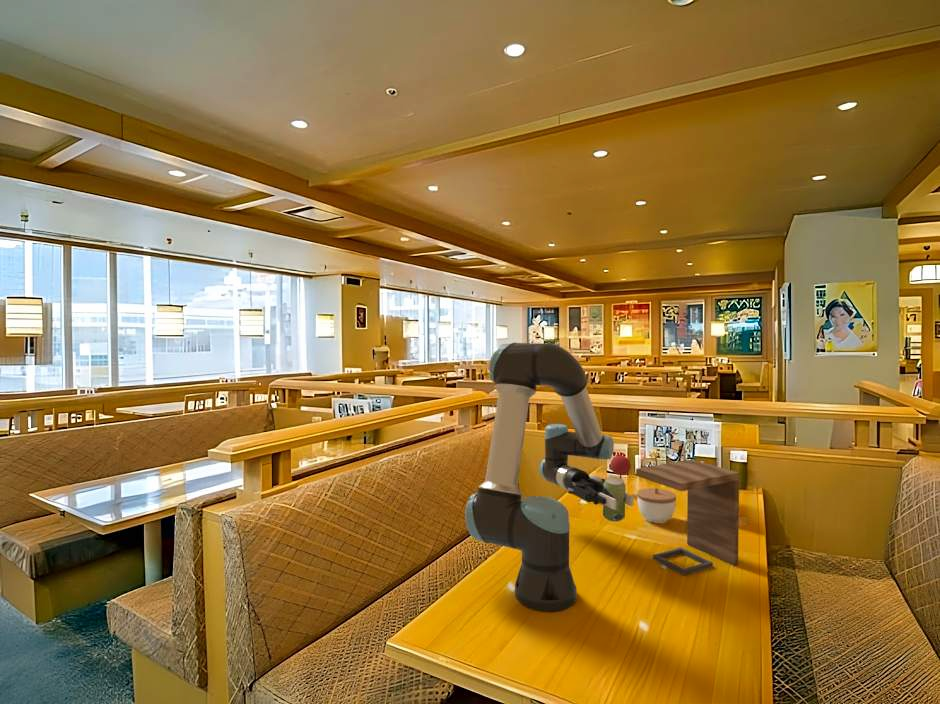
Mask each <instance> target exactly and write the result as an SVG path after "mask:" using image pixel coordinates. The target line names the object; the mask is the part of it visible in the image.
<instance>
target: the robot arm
mask: <svg viewBox="0 0 940 704" xmlns="http://www.w3.org/2000/svg"><path fill="white" fill-rule="evenodd" d="M488 365H489V366H488V371H489V374H488V375H489V379H490V381H492V382H493V383H494V386H493V387H494V389H495V390H496V392H497V393H498V396H497V403H496V409H495V415H494V420H493V427H492V428H493V429H492V436H491V441H490V447H489V453H488V461H487V466H486V472H485V473H486V474H485V479H484V481H483V482H482V483H481V484H480V485H478V488H477V492H475V493H472V494H471V495H470V497H469V498H468V501H467V502H466V506H465V511H464V513H465V515H464V516H465V518H464V520H465V526H466V529H467V531H468V533H469V534H470V537H472V538H473V539H475V540H477V541H481V542H484V543H485V544H491V545H497V546H500V547H501V546H502V547H505V548H510V549H514V550H518V551H521V565H520V567H519V571H518V574H517V576H516V580H515V582H514V583H515V584H514V596H515V599H516V600H517V601H518V602H519V603H520V604H521V605H522V606H524V607H527V608H529V609H532V610H535V611H541V612H558V611H564V610H567V609H568V608H570V607H572V606H573V605H574V604H575V603H576V602H577V585H576V584H575V583H576V582H575V580H574V578H573V573H572V570H571V567H570V529H571V525H570V524H571V523H570V518H569V517H570V516H569V511H568V509H567V507H566V506H565V505H564V504H563V503H562V502H560V501H558V499H557V500H556V499H554V498H551V497H548V496H542V495H538V496H536V495H530V496H526V497H524V498H523V499H522V496H523V495H522V494H523V493H522V492H521V491H520V489H519V488H518V483H519V482H518V481H519V474H520V469H521V468H520V467H521V462H522V461H521V460H522V454H523V446H524V440H525V439H524V438H525V431H526V427H527V426H526V424H527V418H528V410H529V403H530V398H531V397H533V396H535V395H536V393H537V386H541V387H542V386H547V387H550V388H552V389H553V390H554V393H555V394H557V395H558V396H559V397H560V398H561V400H562V404H563V405H564V408H565V411H566V412H567V414H568V417H569V419H570V422H571V424H572V427H573V429H574V432H573V431H569V428H568V426H567V425H566V424H561V423H550V424H548V425H546V426H545V432H544V458H543V459H542V461H540V464H539V467H538V471H539V474H540V476H541V477H542V478H544V480H546V481H548V482H550V483H552V484H554V485H556V486H558V487H561V488H562V489H564V490H566V491H567V493H568V494H570V495H573V496H576V497H578V498H579V499H582V500H583V501H584V502H587V503H592V502H593V505H595V506H598V504H599V503H600V504H602V506H603V505H605V506H607V507H610V508H612V509H614V510H616V499H614V498H612V497H610V496H608V495H605V494H603V484H604V482H605V481H606V478H602V479H601V481H600V482H599V481H596V480H594V479H591V478H590V477H589V475H590V474H588V472H587V471H584V470H582V469H579V468H577V467H575V466H572V465H571V464H569V463H568V461H569V456H571V457H572V456H573V457H580V458H587V459H588V458H589V459H595V460H610V459H611V458H613V455H614V448H615V446H614V445H615V444H614V438H613V437H612V436H611V435H606V434H603V433H602V430H601V427H600V424H599V423H600V422H599V421H598V417H597V414H596V412H595V409H594V407H593V402H592V401H591V397H590V394H589V391H588V389H587V386H588V378H587V375H586V372H585V369H584V368H583V366H582V365H581V363H580V362H579V361H578V359H576V357H575V356H574V355H572V353H570V352H569V351H568V350H566V349H565V348H564V347H562V346H559V345H557V344H555V343H549V342H548V343H547V342H545V343H539V342H538V343H537V342H536V343H533V342H532V343H531V342H530V343H529V342H510V343H502V344H500V345H499V346H497V347H496V348H495V349H494V351H493V352H492V354H491V357H490V360H489V364H488ZM598 493H599V495H598ZM634 501H635V499H634V495H631V494H629V493H627V492H626V493H625V505H627V506H629V507H634V504H635V503H634Z"/></svg>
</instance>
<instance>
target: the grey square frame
mask: <svg viewBox="0 0 940 704" xmlns="http://www.w3.org/2000/svg"><path fill="white" fill-rule="evenodd" d="M680 554H681V555H683V556H685V557H688V558H690V559H691V560H693V561H696V562H697V563H699V564H695V565H692V566H688V567H686V568H683V567H681V566H679V565H678V564H675V563H673V562H672V561H669V560H667V559H666V558H669V557H670V558H671V557H674V556H676V555H680ZM652 560H654V561H656V562H658V563H660V564H661V565H664V566H666V567H667V568H669V569H671V570H673V571H675V572H676V573H679V574H681V575H682V576H688V575H691V574H693V573H697V572H700V571H705V570H707V569H711V568H713V567H714V562H712V561H710V560H708V559H706V558H704V557H702V556H699V555H698V554H695V553H694V552H691V551H689V550H687V549H685V548H683V547H678V548H673V549H670V550H666V551H663V552H658V553H655V554H652Z"/></svg>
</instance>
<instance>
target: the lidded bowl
mask: <svg viewBox="0 0 940 704" xmlns="http://www.w3.org/2000/svg"><path fill="white" fill-rule="evenodd" d="M636 496H637V506H638V509H639V512H640V514H641V515H642V517H643V518H644V519H645V521H647V520H648V521H647V522H649V521H650V522H649V523H652V522H654V523H653V524H658V523H661V524H667V523H668V521H669V520H670V519H671V518H672V517H673V516H674V513H675V511H676V505H677V504H676V500H677V495H676V493H674V492H672V491H670V490H667V489H663V488H659V487H654V488H653V487H645V488H641V489H639V490H637V491H636Z"/></svg>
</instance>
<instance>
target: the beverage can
mask: <svg viewBox="0 0 940 704" xmlns="http://www.w3.org/2000/svg"><path fill="white" fill-rule="evenodd" d="M605 480H606V481H605V482H604V484H603V494H605V495H608V496H610V497H612V498H614V499H616V510H614V509H612V508H610V507H607V506H605V505H603V504H602V516H603V517H604V519H606V520H607V521H609V522H613V523H615V522H617V523H618V522H621V521H623V520H624V519H625V517H626V504H625V493H627V492H626V490H627V489H626V484H625V482H624V479H623V478H622V477H621V478H620V476H619V477H618V476H608V477H606V478H605Z"/></svg>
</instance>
